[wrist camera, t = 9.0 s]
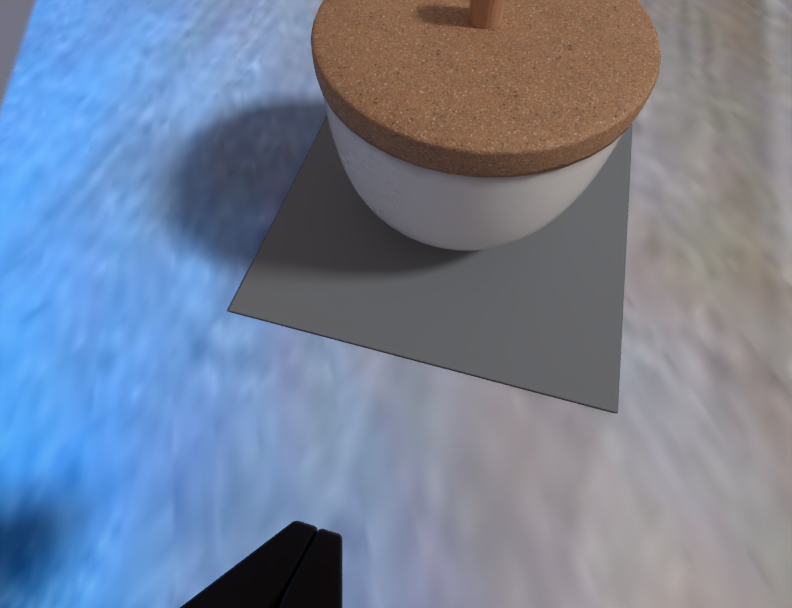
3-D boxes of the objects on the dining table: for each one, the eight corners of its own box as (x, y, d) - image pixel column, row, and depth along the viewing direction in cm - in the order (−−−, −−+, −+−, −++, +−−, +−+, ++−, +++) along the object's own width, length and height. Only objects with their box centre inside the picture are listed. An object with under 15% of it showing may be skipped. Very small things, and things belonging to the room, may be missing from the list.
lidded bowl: (480, 346, 20) (560, 168, 10) (291, 204, 24) (216, -25, 14) (615, 185, 24) (761, -49, 15) (436, 86, 28) (457, -151, 18)
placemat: (612, 415, 19) (617, 412, 19) (232, 314, 21) (228, 310, 21) (628, 130, 27) (632, 124, 27) (349, 80, 29) (348, 73, 29)
